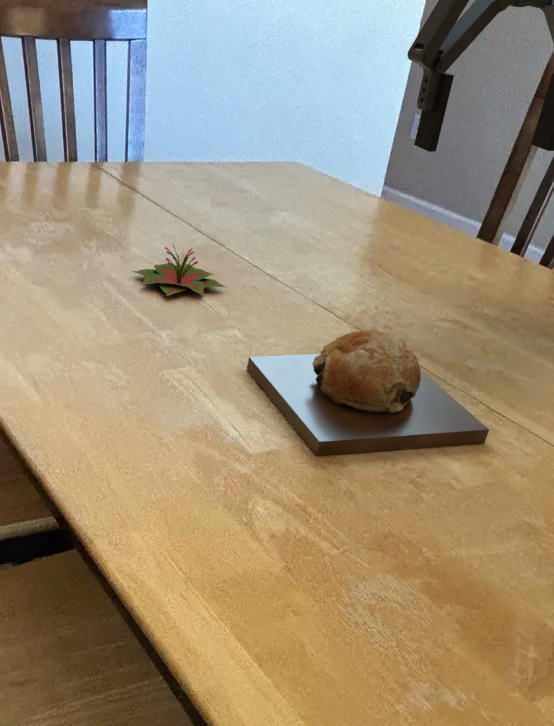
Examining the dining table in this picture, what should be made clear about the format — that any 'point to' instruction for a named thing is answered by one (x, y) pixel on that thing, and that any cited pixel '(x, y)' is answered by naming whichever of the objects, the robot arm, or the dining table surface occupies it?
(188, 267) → the lily flower
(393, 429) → the cutting board
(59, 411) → the dining table surface
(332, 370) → the bread roll
